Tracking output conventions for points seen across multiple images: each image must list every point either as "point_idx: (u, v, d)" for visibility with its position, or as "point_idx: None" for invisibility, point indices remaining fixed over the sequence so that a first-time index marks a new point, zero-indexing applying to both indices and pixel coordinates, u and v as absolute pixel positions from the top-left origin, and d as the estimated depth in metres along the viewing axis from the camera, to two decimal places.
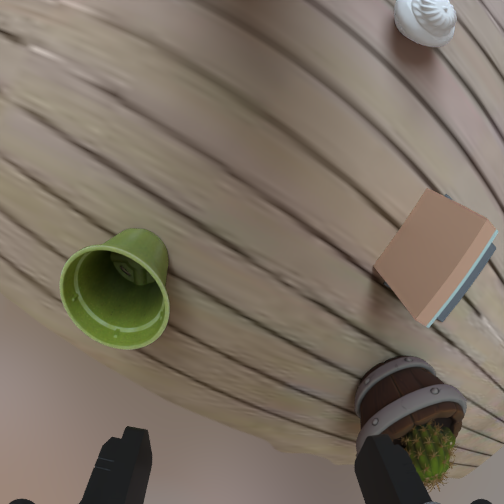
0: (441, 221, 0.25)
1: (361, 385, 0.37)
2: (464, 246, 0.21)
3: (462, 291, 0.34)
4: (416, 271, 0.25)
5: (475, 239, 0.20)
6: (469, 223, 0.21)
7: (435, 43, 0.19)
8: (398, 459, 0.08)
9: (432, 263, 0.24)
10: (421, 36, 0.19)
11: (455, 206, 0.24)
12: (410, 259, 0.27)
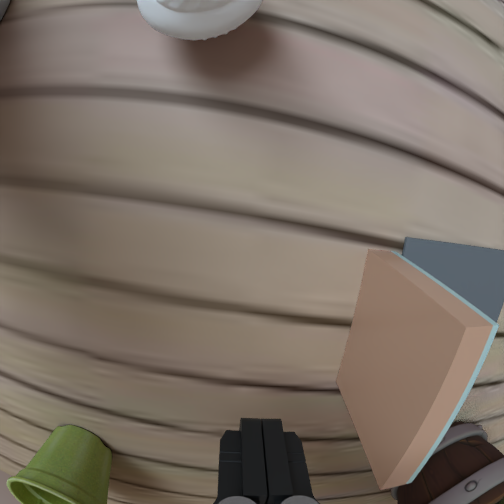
0: (395, 321, 0.15)
1: None
2: (432, 385, 0.11)
3: None
4: (376, 410, 0.15)
5: (449, 372, 0.10)
6: (436, 333, 0.11)
7: (231, 18, 0.11)
8: (282, 445, 0.09)
9: (393, 404, 0.13)
10: (197, 26, 0.11)
11: (410, 291, 0.13)
12: (368, 385, 0.16)
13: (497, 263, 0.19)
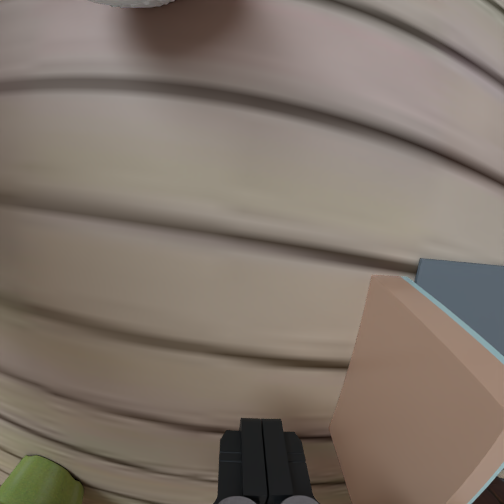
0: (405, 379, 0.10)
1: None
2: (449, 478, 0.06)
3: None
4: (373, 481, 0.10)
5: (476, 468, 0.05)
6: (463, 413, 0.07)
7: None
8: (282, 445, 0.09)
9: (394, 482, 0.09)
10: None
11: (430, 344, 0.09)
12: (365, 447, 0.12)
13: None
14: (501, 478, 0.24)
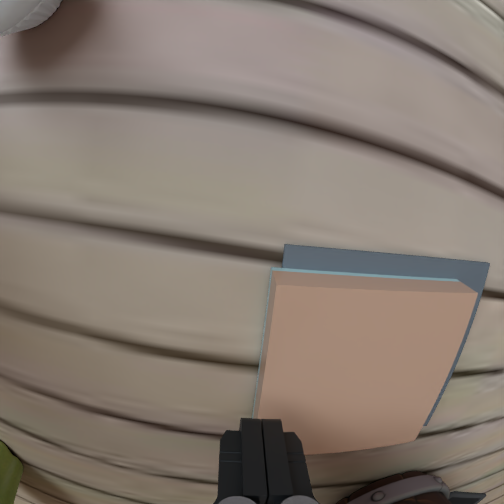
0: (385, 338, 0.13)
1: None
2: (452, 347, 0.13)
3: None
4: (376, 417, 0.14)
5: None
6: (449, 314, 0.13)
7: (10, 3, 0.06)
8: (282, 445, 0.09)
9: (404, 394, 0.14)
10: None
11: (407, 300, 0.12)
12: (347, 414, 0.14)
13: None
14: (468, 492, 0.23)
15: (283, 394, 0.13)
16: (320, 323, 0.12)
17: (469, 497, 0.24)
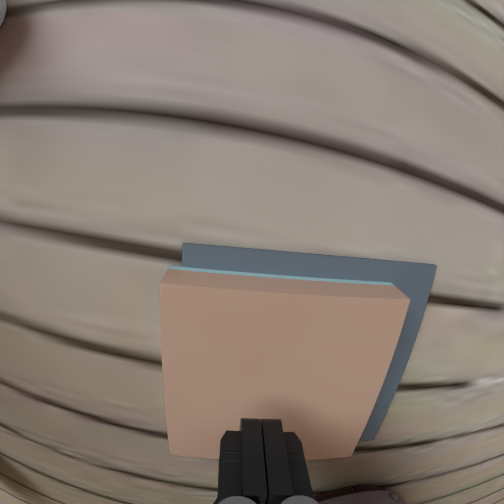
0: (289, 345, 0.12)
1: None
2: (382, 359, 0.13)
3: (389, 385, 0.16)
4: (297, 428, 0.14)
5: (397, 338, 0.13)
6: (371, 323, 0.12)
7: None
8: (282, 445, 0.09)
9: (326, 407, 0.14)
10: None
11: (311, 304, 0.12)
12: None
13: None
14: None
15: (185, 395, 0.13)
16: (210, 324, 0.12)
17: None
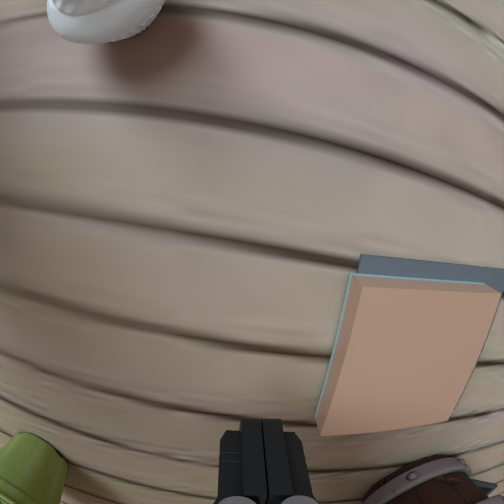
0: (434, 329, 0.15)
1: None
2: (481, 337, 0.16)
3: None
4: (422, 397, 0.17)
5: (490, 322, 0.16)
6: (480, 310, 0.15)
7: (127, 14, 0.09)
8: (282, 445, 0.09)
9: (444, 377, 0.16)
10: (93, 28, 0.09)
11: (452, 298, 0.15)
12: (401, 394, 0.16)
13: None
14: (482, 481, 0.25)
15: (356, 377, 0.16)
16: (390, 317, 0.15)
17: (482, 486, 0.25)
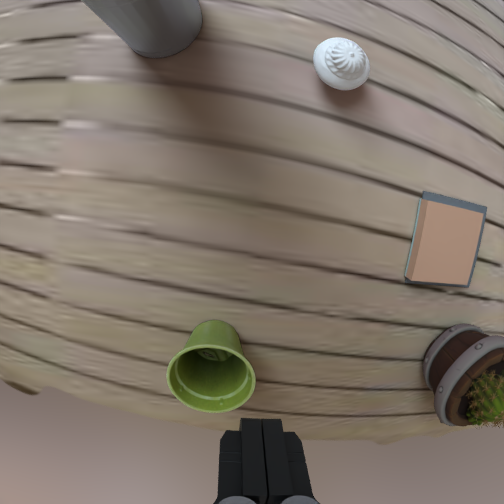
0: (455, 224, 0.34)
1: (423, 365, 0.40)
2: (476, 234, 0.35)
3: None
4: (453, 263, 0.36)
5: (480, 227, 0.35)
6: (474, 219, 0.34)
7: (358, 84, 0.28)
8: (282, 445, 0.09)
9: (462, 253, 0.36)
10: (345, 85, 0.28)
11: (461, 211, 0.34)
12: (444, 259, 0.36)
13: None
14: None
15: (426, 244, 0.35)
16: (438, 215, 0.34)
17: None
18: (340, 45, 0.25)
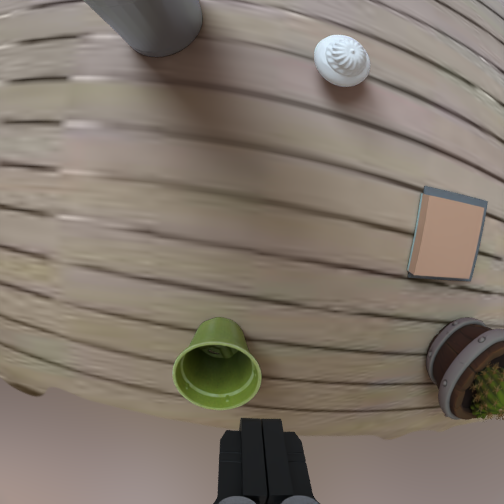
0: (456, 219, 0.35)
1: (427, 359, 0.41)
2: (478, 228, 0.35)
3: None
4: (455, 257, 0.36)
5: (481, 221, 0.35)
6: (475, 214, 0.34)
7: (359, 80, 0.28)
8: (282, 445, 0.09)
9: (463, 247, 0.36)
10: (346, 82, 0.28)
11: (462, 205, 0.34)
12: (446, 253, 0.36)
13: None
14: None
15: (428, 239, 0.35)
16: (439, 210, 0.34)
17: None
18: (341, 42, 0.25)
